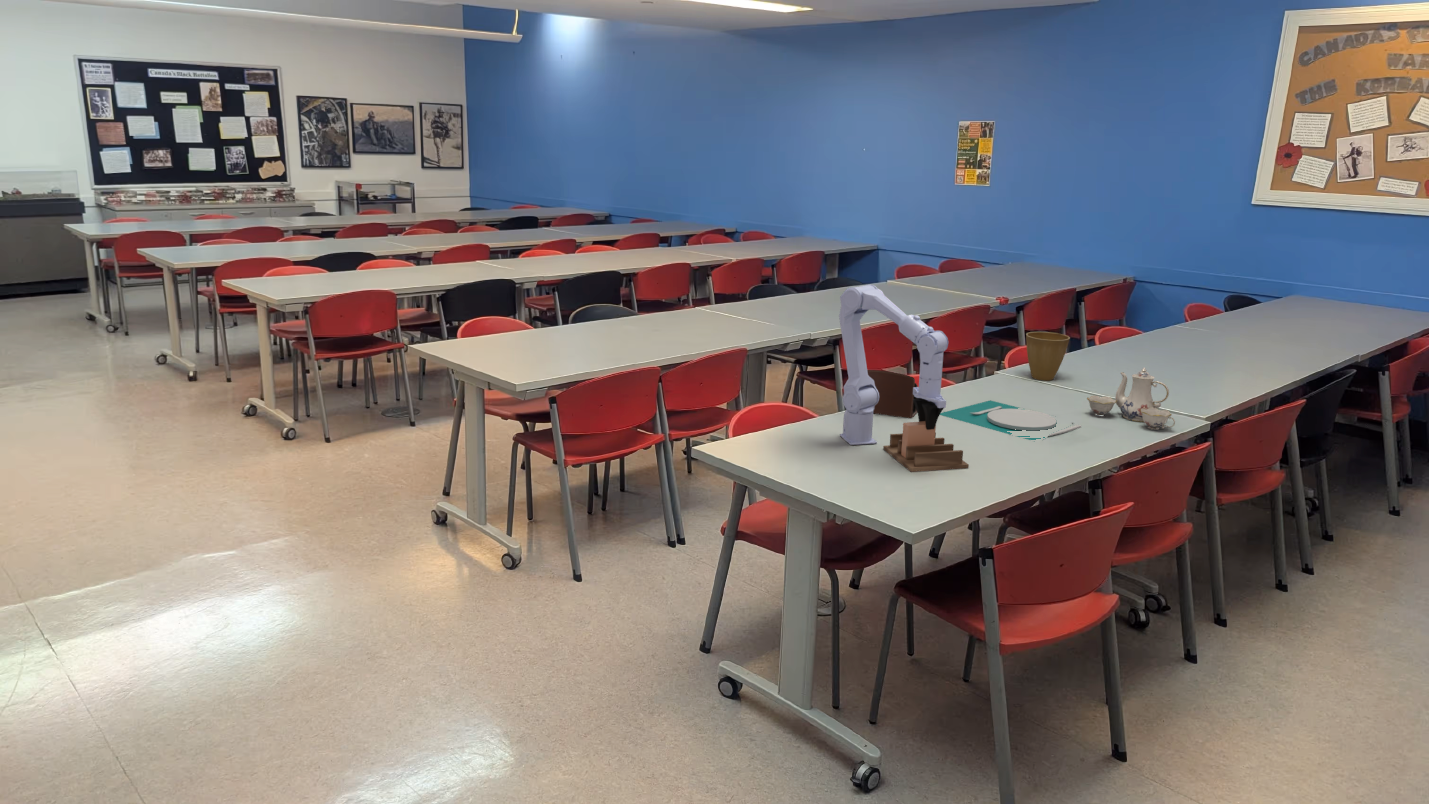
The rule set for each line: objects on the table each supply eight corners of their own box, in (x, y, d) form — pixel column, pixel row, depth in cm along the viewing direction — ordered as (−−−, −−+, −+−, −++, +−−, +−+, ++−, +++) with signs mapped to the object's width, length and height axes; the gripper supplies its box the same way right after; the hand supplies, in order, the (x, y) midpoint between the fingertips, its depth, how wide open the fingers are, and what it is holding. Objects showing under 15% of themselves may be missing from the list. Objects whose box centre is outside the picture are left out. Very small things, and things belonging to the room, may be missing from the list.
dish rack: (883, 449, 254) (884, 433, 253) (937, 445, 257) (938, 430, 256) (911, 471, 236) (912, 455, 235) (968, 468, 239) (969, 451, 238)
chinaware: (1076, 419, 289) (1079, 369, 284) (1101, 405, 300) (1105, 356, 294) (1167, 440, 269) (1172, 386, 264) (1190, 423, 280) (1196, 372, 274)
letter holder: (911, 419, 283) (914, 375, 279) (850, 411, 291) (852, 368, 288) (919, 411, 292) (922, 368, 288) (859, 403, 300) (861, 361, 296)
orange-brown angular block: (901, 454, 246) (903, 422, 243) (928, 452, 248) (930, 420, 246) (906, 458, 243) (908, 426, 241) (933, 456, 245) (935, 423, 243)
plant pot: (1021, 381, 330) (1026, 337, 326) (1022, 372, 344) (1026, 330, 340) (1065, 384, 326) (1070, 340, 322) (1064, 375, 340) (1069, 333, 335)
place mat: (930, 416, 289) (931, 409, 288) (989, 401, 307) (989, 394, 306) (1059, 452, 255) (1060, 445, 254) (1116, 433, 273) (1117, 426, 272)
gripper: (903, 372, 246) (900, 420, 250) (930, 385, 233) (926, 436, 236) (927, 370, 248) (924, 418, 252) (954, 383, 234) (950, 434, 238)
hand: (926, 427), depth 244 cm, fingers closed on orange-brown angular block, 3 cm apart
